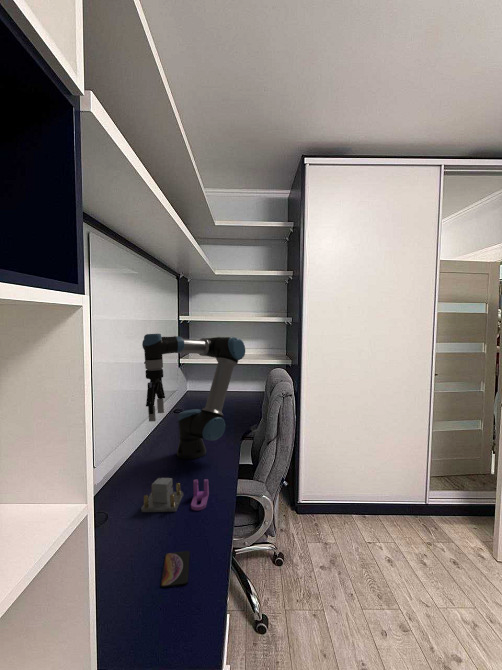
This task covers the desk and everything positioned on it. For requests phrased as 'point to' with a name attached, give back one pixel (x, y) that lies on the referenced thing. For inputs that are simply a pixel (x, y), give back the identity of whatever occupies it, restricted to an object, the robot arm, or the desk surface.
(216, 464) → the desk surface
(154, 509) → the chassis
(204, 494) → the bracket
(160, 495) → the skincare box
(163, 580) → the smartphone
